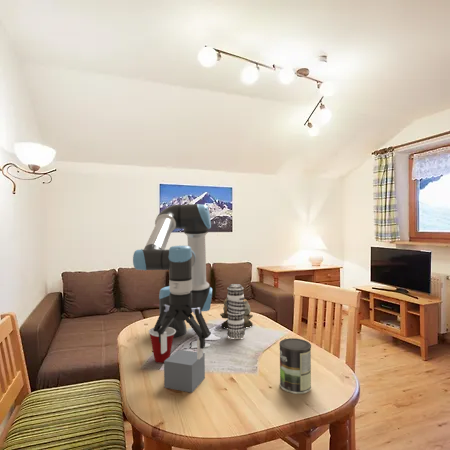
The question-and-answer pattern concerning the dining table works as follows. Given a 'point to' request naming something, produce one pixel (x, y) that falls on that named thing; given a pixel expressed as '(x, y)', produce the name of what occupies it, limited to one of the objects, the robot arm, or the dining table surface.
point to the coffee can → (295, 365)
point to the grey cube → (184, 371)
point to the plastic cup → (157, 346)
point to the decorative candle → (235, 311)
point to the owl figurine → (246, 314)
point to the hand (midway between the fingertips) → (181, 354)
